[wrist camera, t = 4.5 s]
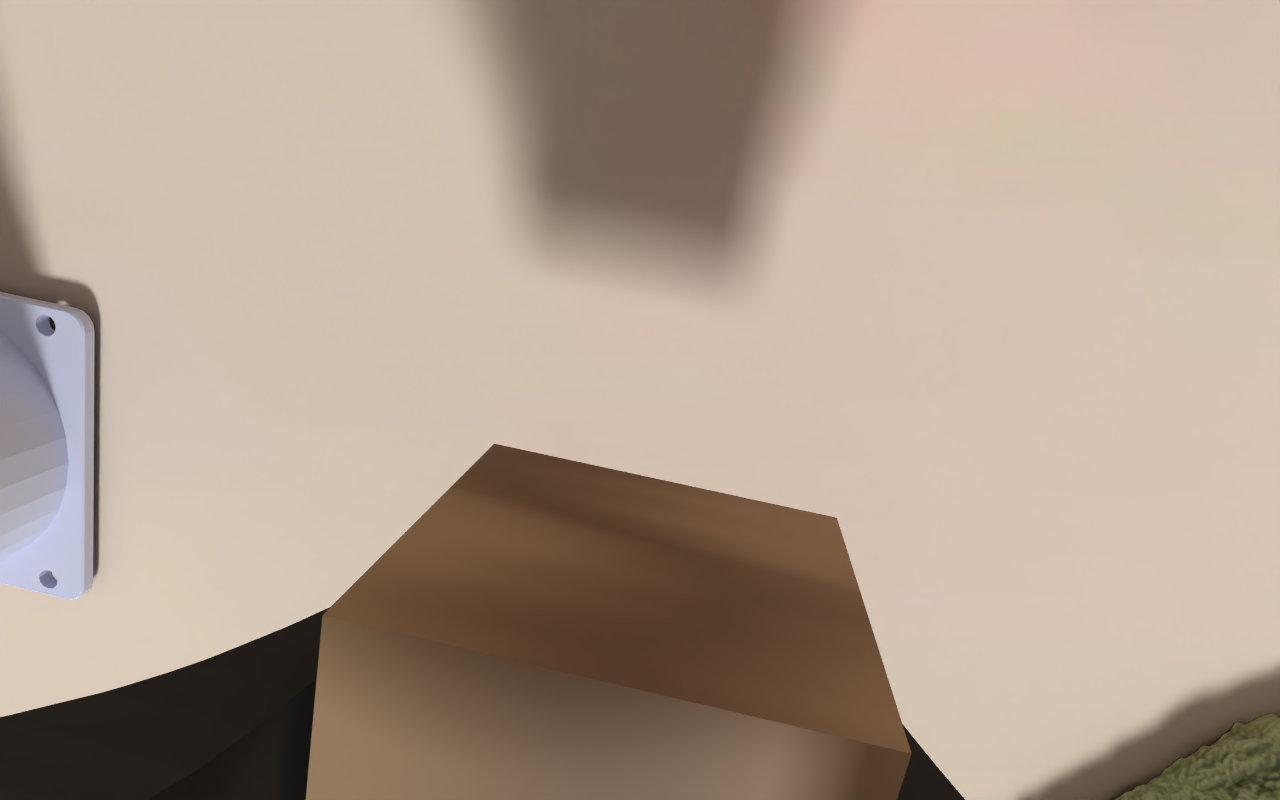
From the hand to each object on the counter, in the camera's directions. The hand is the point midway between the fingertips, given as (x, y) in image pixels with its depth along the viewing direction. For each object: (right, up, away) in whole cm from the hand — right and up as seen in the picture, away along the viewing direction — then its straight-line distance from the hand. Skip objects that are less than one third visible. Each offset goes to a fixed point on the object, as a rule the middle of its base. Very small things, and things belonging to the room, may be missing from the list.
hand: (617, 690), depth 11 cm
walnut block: (0, 0, +1) cm, 2 cm away
